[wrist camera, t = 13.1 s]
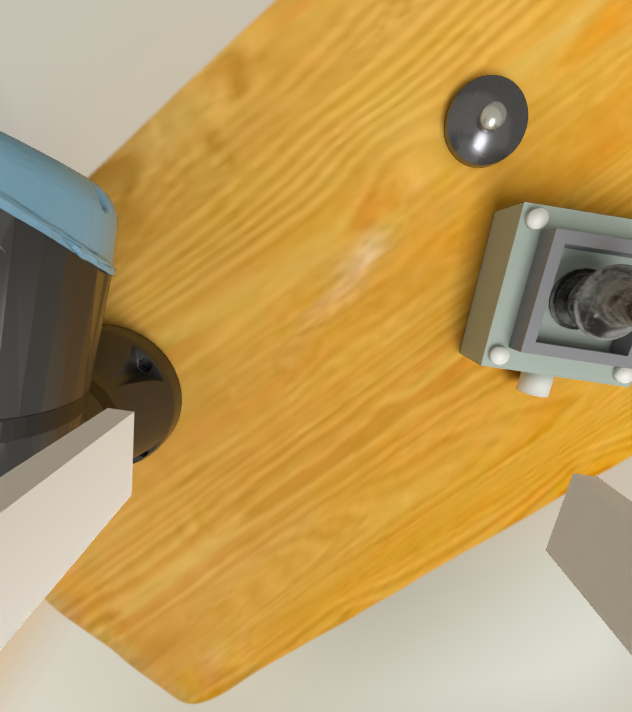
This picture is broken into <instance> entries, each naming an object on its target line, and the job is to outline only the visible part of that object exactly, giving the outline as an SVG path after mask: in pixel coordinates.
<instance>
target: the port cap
mask: <svg viewBox="0 0 632 712" xmlns="http://www.w3.org/2000/svg"><path fill="white" fill-rule="evenodd" d="M527 123H528V107H527V102H526V99H525V97H524V95H523V93H522V91H521V90H520V88H519V87H518V86H517V85H516V84H515V83H514V82H513V81H511V80H509V79H507V78H505V77H502V76H498V75H487V76H483V77H480V78H477V79H475V80H473V81H472V82H470V83H469V84H467V85H466V86H465V87H464V88H463V89H462V90H461V91H460V92H459V94H458V95H457V96H456V97H455V99H454V100H453V102H452V103H451V105H450V107H449V109H448V111H447V114H446V118H445V123H444V135H445V140H446V144H447V147H448V148H449V150H450V152H451V154H452V155H453V156H454V157H455V158H456V159H457V160H458V161H459V162H461V163H462V164H464V165H467V166H470V167H475V168H483V167H488V166H491V165H494V164H496V163H498V162H499V161H501V160H503V159H504V158H506V157H507V156H508V155H510V154H511V153H512V152H513V151H514V150H515V149H516V148H517V146H518V145H519V144H520V142H521V140H522V138H523V136H524V134H525V131H526V128H527Z"/></svg>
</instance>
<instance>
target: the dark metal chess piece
mask: <svg viewBox="0 0 632 712" xmlns="http://www.w3.org/2000/svg"><path fill="white" fill-rule="evenodd" d="M549 310H550V314H551V316H552V318H553V319H554V321H555V322H556V323H558V324H559V325H560V326H562V327H564V328H567V329H573V330H578V329H580V330H581V331H582V332H583V333H584V334H586V335H587V336H589V337H591V338H594V339H596V340H605V341H607V340H614V339H618V338H620V337H623V336H625V335H627V334H629V333H630V332H632V266H631V265H626V264H614V265H608V266H605V267H603V268H600V269H598V270H595V269H589V268H582V269H576V270H573V271H571V272H569V273H567V274H566V275H564V276H563V277H561V278H560V280H559V281H558V282H557V283H556V284H555V286H554V288H553V289H552V291H551V294H550V298H549Z"/></svg>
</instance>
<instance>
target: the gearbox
mask: <svg viewBox="0 0 632 712" xmlns="http://www.w3.org/2000/svg"><path fill="white" fill-rule="evenodd" d="M614 264H626V265H631V266H632V219H627V218H621V217H615V216H609V215H603V214H597V213H590V212H584V211H578V210H572V209H566V208H559V207H553V206H547V205H541V204H535V203H529V202H523V203H520V204H517V205H514V206H511V207H508V208H505V209H502V210H499V211H496V212H495V213H494V217H493V221H492V225H491V229H490V233H489V237H488V241H487V245H486V249H485V253H484V257H483V261H482V265H481V269H480V273H479V277H478V281H477V285H476V289H475V293H474V297H473V301H472V305H471V309H470V313H469V317H468V321H467V325H466V329H465V333H464V337H463V341H462V345H461V349H460V354H462V355H464V356H465V357H467V358H469V359H471V360H472V361H474V362H476V363H478V364H479V365H482V366H488V367H495V368H502V369H509V370H515V371H521V374H520V377H519V381H518V384H517V387H516V389H517V390H519V391H521V392H524V393H527V394H530V395H534V396H538V397H548V395H549V392H550V389H551V386H552V383H553V380H554V377H555V376H556V377H563V378H569V379H576V380H583V381H590V382H596V383H603V384H610V385H617V386H623V387H630V384H631V382H632V332H630V333H629V334H627V335H625V336H623V337H620V338H618V339H614V340H607V341H605V340H596V339H594V338H591V337H589V336H587V335H586V334H584V333H583V332H582V331H581V330H580V329H578V330H573V329H567V328H564V327H562V326H560V325H559V324H558V323H556V322H555V321H554V319H553V318H552V316H551V314H550V310H549V298H550V294H551V291H552V289H553V288H554V286H555V284H556V283H557V282H558V281H559V280H560V278H561V277H563V276H564V275H566V274H567V273H569V272H571V271H573V270H576V269H582V268H589V269H595V270H598V269H600V268H603V267H605V266H608V265H614Z"/></svg>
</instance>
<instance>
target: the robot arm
mask: <svg viewBox="0 0 632 712" xmlns="http://www.w3.org/2000/svg"><path fill="white" fill-rule="evenodd" d="M117 224H118V218H117V212H116V209H115V206H114V204H113V202H112V201H111V199H110V198H109V196H108V195H107V194H106V193H105V191H104V190H103V189H101V188H100V187H99V186H98V185H97V184H95V183H94V182H93V181H91V180H90V179H88V178H87V177H85V176H83V175H81V174H80V173H78V172H76V171H75V170H73V169H71V168H69V167H68V166H66V165H64V164H62V163H60V162H59V161H57V160H55V159H53V158H51V157H49V156H47V155H45V154H44V153H42V152H40V151H38V150H36V149H34V148H32V147H30V146H28V145H26V144H25V143H23V142H21V141H19V140H17V139H15V138H13V137H11V136H9V135H7V134H5V133H3V132H1V131H0V650H1V649H2V648H3V647H4V646H5V645H6V643H7V642H8V641H9V640H10V639H11V637H12V636H13V635H14V634H15V633H16V631H17V630H18V629H19V628H20V627H21V626H22V624H23V623H24V622H25V621H26V620H27V618H28V617H29V616H30V615H31V614H32V612H33V611H34V610H35V609H36V608H37V607H38V605H39V604H40V603H41V602H42V601H43V599H44V598H45V597H46V596H47V595H48V594H49V592H50V591H51V590H52V589H53V588H54V586H55V585H56V584H57V583H58V582H59V580H60V579H61V578H62V577H63V576H64V574H65V573H66V572H67V571H68V570H69V569H70V567H71V566H72V565H73V564H74V563H75V561H76V560H77V559H78V558H79V557H80V555H81V554H82V553H83V552H84V551H85V550H86V548H87V547H88V546H89V545H90V544H91V542H92V541H93V540H94V539H95V538H96V536H97V535H98V534H99V533H100V532H101V531H102V529H103V528H104V527H105V526H106V525H107V523H108V522H109V521H110V520H111V519H112V517H113V516H114V515H115V514H116V513H117V512H118V510H119V509H120V508H121V507H122V506H123V504H124V503H125V502H126V501H127V500H128V498H129V497H130V496H131V495H132V468H133V464H134V463H136V462H139V461H141V460H143V459H144V458H146V457H148V456H149V455H151V454H152V453H153V452H154V451H156V450H157V449H158V448H159V447H160V446H161V445H162V444H163V442H164V441H165V440H166V439H167V438H168V437H169V436H170V434H171V433H172V432H173V430H174V428H175V426H176V424H177V422H178V419H179V416H180V412H181V404H182V397H181V389H180V384H179V381H178V378H177V375H176V373H175V371H174V369H173V367H172V365H171V363H170V362H169V360H168V359H167V358H166V356H165V355H164V354H163V353H162V352H161V351H160V350H159V349H158V348H157V347H156V346H155V345H154V344H153V343H151V342H150V341H149V340H147V339H146V338H144V337H143V336H141V335H139V334H137V333H135V332H133V331H131V330H128V329H125V328H121V327H117V326H111V325H102V322H103V317H104V312H105V307H106V301H107V296H108V291H109V286H110V281H111V276H112V275H113V276H114V275H115V267H114V266H113V260H114V250H115V240H116V232H117ZM546 551H547V552H548V553H549V555H550V556H551V557H552V558H553V559H554V561H555V562H556V563H557V565H558V566H559V567H560V568H561V569H562V571H563V572H564V573H565V574H566V575H567V577H568V578H569V579H570V580H571V582H572V583H573V584H574V585H575V587H576V588H577V589H578V590H579V591H580V592H581V594H582V595H583V596H584V598H585V599H586V600H587V601H588V602H589V604H590V605H591V606H592V607H593V608H594V610H595V611H596V612H597V613H598V615H599V616H600V617H601V618H602V620H604V622H605V623H606V624H607V625H608V627H609V628H610V629H611V630H612V631H613V633H614V634H615V635H616V637H617V638H618V639H619V640H620V641H621V643H622V644H623V645H624V646H625V648H626V649H627V650H628V651H629V652H630V654H631V655H632V502H631V501H630V500H629V499H627V498H626V497H624V496H623V495H622V494H620V493H619V492H618V491H616V490H615V489H613V488H612V487H611V486H609V485H608V484H607V483H605V482H604V481H603V480H601V479H599V477H595V476H588V475H581V474H573V475H572V478H571V481H570V483H569V486H568V489H567V492H566V495H565V498H564V500H563V503H562V506H561V509H560V512H559V515H558V518H557V520H556V523H555V526H554V529H553V531H552V534H551V537H550V540H549V543H548V545H547V548H546Z"/></svg>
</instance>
